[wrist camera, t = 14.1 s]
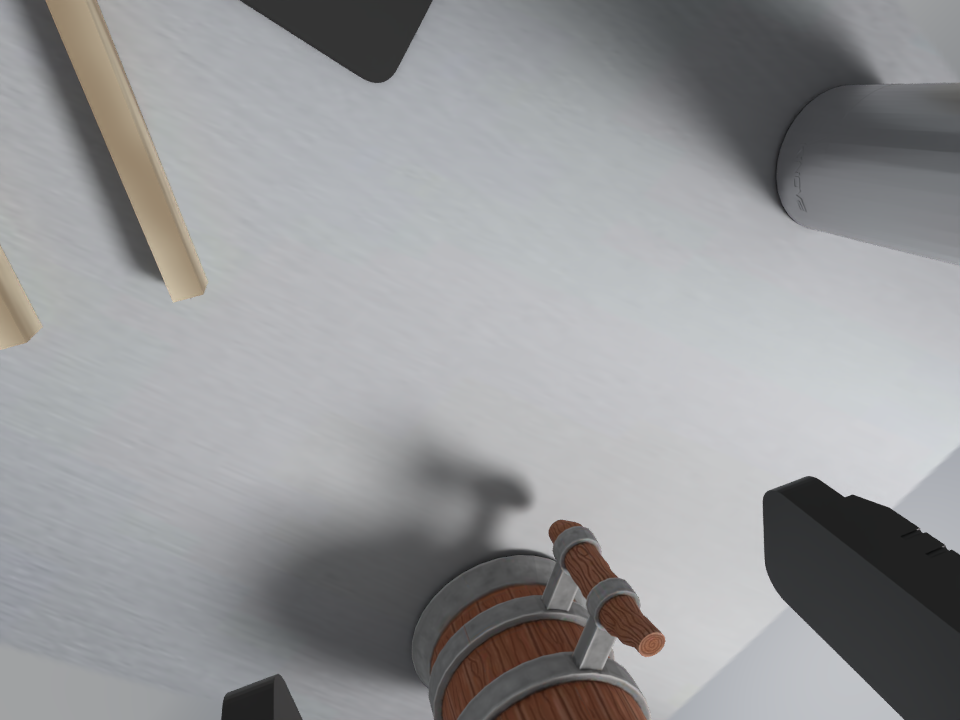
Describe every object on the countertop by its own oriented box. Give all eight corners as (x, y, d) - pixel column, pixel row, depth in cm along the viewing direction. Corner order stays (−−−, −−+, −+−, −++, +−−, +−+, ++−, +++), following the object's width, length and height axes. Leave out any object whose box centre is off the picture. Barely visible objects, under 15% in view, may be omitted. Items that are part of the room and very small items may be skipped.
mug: (387, 697, 50) (428, 916, 37) (465, 475, 45) (545, 636, 32) (550, 701, 55) (638, 895, 42) (636, 502, 50) (768, 650, 37)
